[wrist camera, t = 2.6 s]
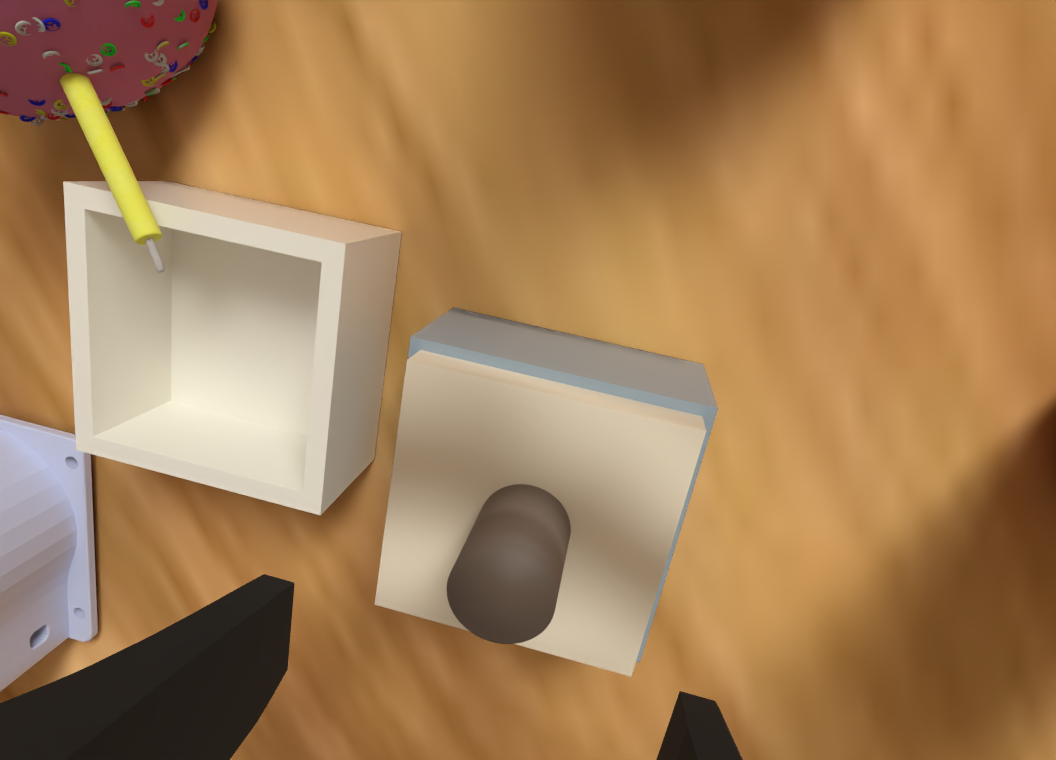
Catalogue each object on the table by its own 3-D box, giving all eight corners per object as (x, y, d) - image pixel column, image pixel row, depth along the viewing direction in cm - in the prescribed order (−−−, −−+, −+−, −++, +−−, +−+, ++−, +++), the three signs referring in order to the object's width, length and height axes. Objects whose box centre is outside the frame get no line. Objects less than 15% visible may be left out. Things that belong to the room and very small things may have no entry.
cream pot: (374, 459, 23) (320, 515, 19) (167, 406, 23) (76, 449, 20) (401, 231, 20) (345, 244, 16) (168, 181, 21) (63, 181, 17)
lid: (631, 651, 18) (628, 773, 15) (387, 583, 19) (325, 682, 15) (702, 416, 16) (720, 489, 12) (420, 350, 17) (355, 399, 13)
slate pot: (640, 580, 22) (639, 662, 18) (420, 522, 23) (377, 589, 19) (703, 364, 20) (718, 408, 16) (453, 307, 20) (410, 336, 17)
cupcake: (109, -1, 22) (278, 289, 21) (-267, -59, 16) (-52, 354, 15) (173, -278, 17) (407, 96, 15) (-369, -544, 10) (-35, 65, 9)
